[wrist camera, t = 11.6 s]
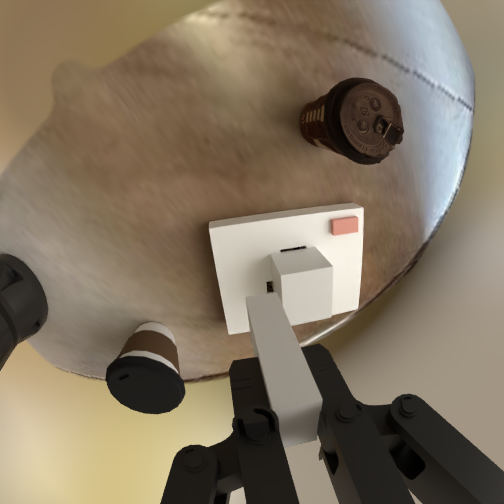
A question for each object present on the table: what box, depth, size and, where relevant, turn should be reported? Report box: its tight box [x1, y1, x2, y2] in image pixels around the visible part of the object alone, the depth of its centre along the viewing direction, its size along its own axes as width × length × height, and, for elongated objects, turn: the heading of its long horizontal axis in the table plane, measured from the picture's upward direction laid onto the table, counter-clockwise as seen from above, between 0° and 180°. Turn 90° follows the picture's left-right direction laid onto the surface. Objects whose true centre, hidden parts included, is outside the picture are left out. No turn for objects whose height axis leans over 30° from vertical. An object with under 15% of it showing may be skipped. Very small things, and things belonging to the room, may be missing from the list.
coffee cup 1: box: [105, 322, 185, 414], centre depth 36 cm, size 11×11×12 cm
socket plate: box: [209, 203, 363, 335], centre depth 38 cm, size 16×20×4 cm
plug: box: [270, 247, 333, 326], centre depth 35 cm, size 7×6×9 cm
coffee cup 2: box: [300, 78, 404, 165], centre depth 27 cm, size 9×8×13 cm
